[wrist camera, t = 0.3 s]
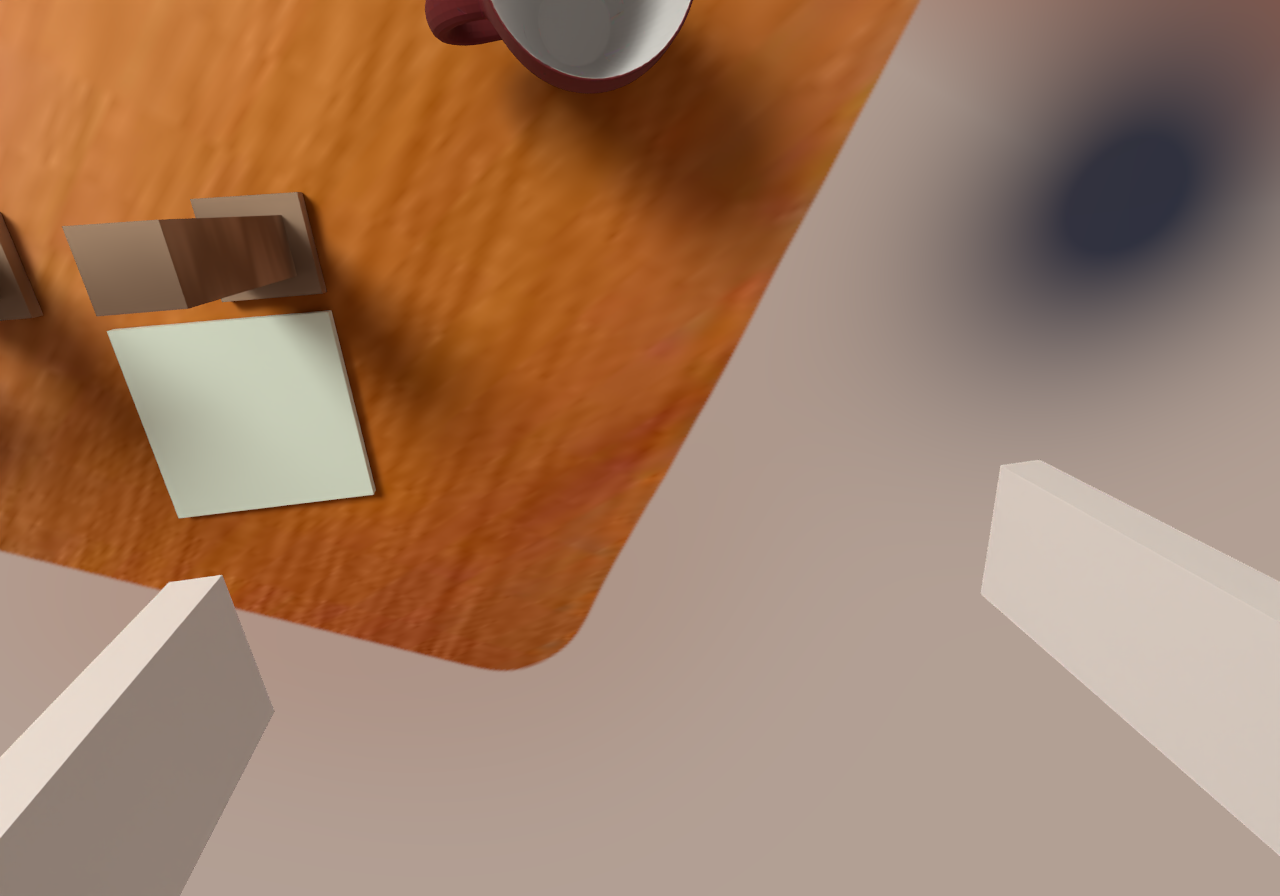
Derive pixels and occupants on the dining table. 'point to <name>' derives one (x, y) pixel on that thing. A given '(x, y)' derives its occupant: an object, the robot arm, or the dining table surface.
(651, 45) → the mug
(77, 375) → the dining table surface
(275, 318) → the mat
